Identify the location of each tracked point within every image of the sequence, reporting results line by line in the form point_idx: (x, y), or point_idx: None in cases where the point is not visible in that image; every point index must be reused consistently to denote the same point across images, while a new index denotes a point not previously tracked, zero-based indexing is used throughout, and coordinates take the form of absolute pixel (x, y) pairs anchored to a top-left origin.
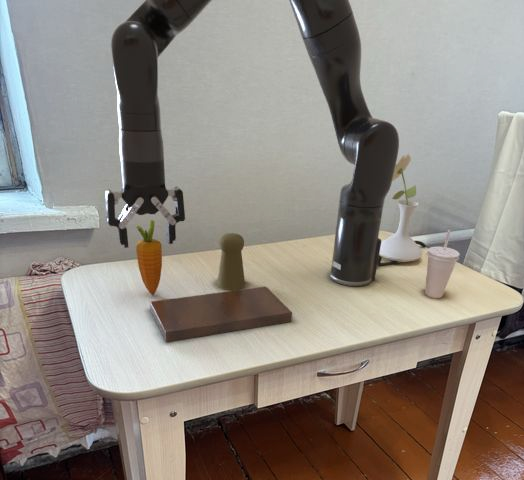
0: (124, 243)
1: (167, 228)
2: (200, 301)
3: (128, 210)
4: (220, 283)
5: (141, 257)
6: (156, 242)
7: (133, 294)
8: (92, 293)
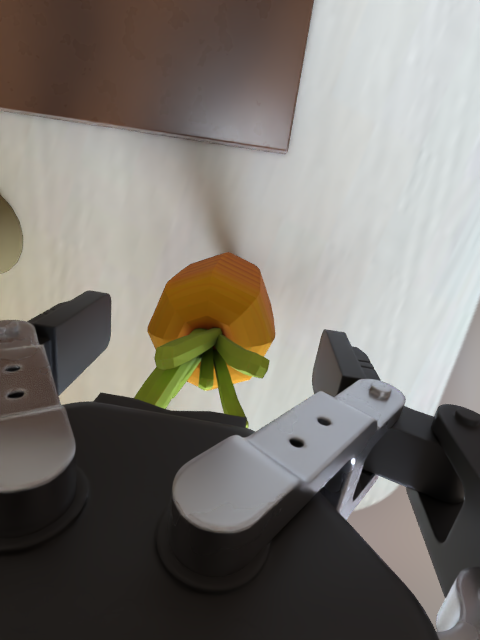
0: (347, 339)
1: (71, 350)
2: (118, 62)
3: (348, 457)
4: (7, 224)
5: (264, 294)
6: (173, 309)
7: (286, 298)
8: (390, 356)
